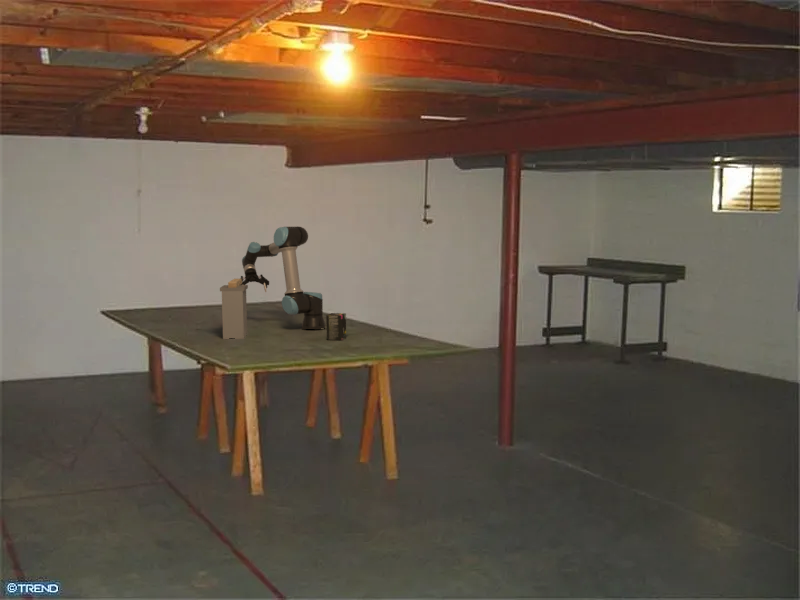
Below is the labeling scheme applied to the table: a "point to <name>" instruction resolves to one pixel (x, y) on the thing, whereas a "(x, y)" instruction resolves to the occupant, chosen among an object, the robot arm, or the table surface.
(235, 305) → the grey stand
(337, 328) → the tampon box
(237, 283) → the birch strip
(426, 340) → the table surface
